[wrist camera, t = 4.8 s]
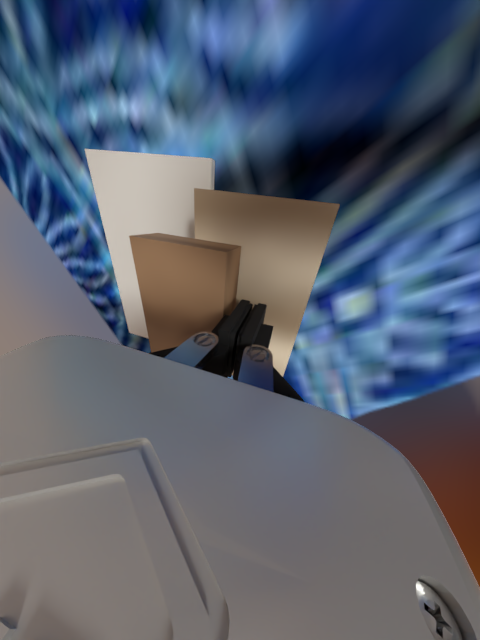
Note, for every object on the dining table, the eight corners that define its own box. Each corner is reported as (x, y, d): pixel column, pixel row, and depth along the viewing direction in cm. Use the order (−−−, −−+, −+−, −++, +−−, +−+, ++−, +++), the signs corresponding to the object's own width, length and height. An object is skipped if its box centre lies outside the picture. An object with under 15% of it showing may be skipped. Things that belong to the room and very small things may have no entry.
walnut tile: (158, 232, 13) (129, 235, 10) (241, 246, 11) (226, 252, 9) (170, 338, 17) (151, 354, 15) (230, 355, 16) (219, 376, 14)
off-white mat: (91, 151, 15) (84, 148, 15) (214, 160, 13) (211, 158, 13) (132, 330, 24) (129, 332, 24) (209, 352, 22) (206, 356, 22)
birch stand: (220, 195, 14) (193, 187, 11) (329, 207, 12) (340, 204, 9) (213, 340, 21) (196, 364, 18) (282, 360, 20) (278, 389, 16)
